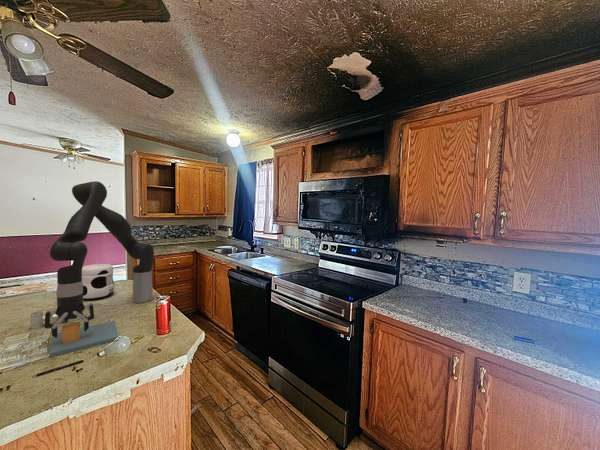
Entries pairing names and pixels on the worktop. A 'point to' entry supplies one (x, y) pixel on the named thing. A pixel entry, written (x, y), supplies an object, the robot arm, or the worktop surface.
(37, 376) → the black thin rod
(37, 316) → the valve
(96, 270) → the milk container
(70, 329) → the cap
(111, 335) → the board
